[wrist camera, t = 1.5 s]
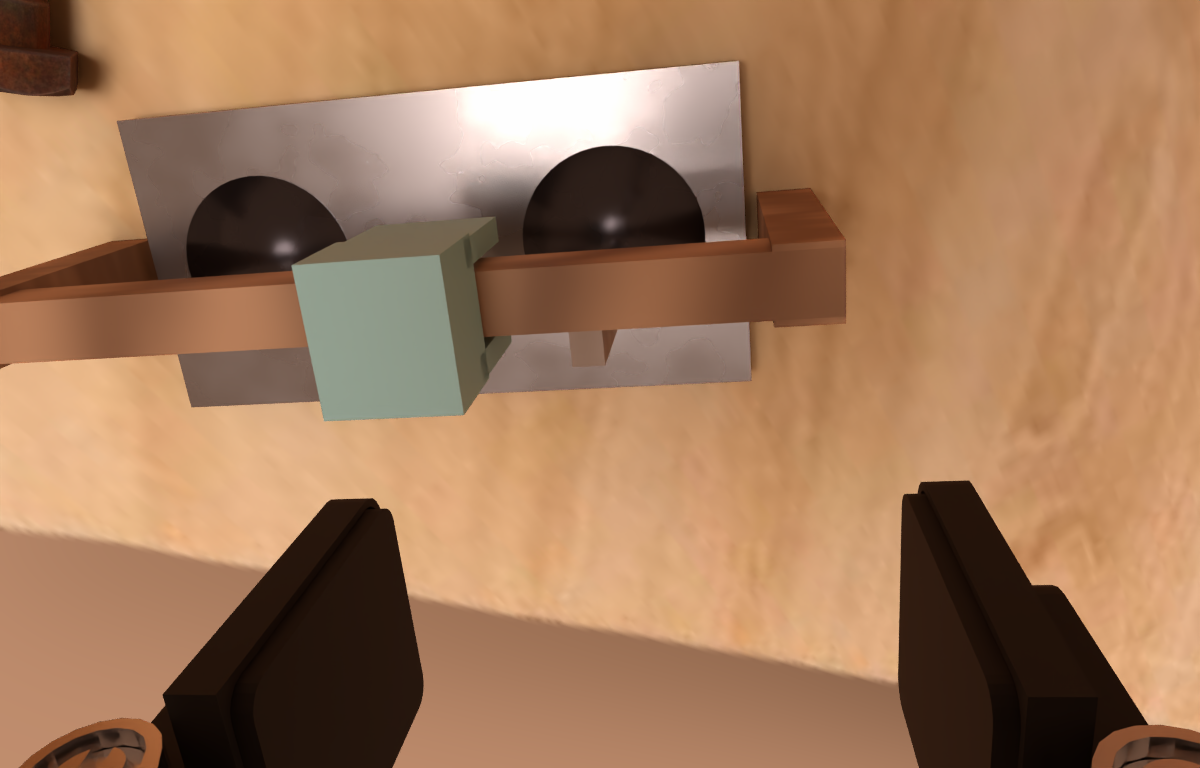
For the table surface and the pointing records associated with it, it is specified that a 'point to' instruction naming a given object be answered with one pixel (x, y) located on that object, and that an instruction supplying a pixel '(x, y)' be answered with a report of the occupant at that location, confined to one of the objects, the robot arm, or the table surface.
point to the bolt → (33, 52)
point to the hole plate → (455, 203)
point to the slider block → (399, 320)
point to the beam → (504, 285)
